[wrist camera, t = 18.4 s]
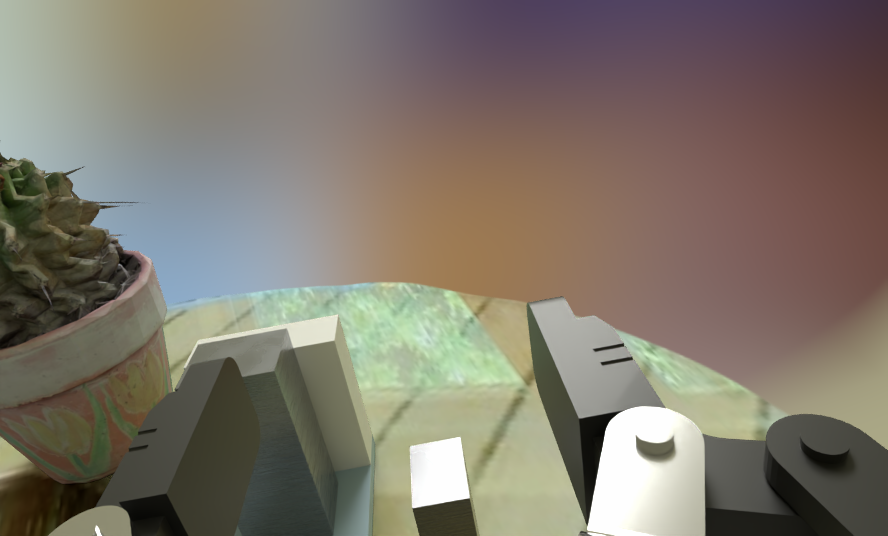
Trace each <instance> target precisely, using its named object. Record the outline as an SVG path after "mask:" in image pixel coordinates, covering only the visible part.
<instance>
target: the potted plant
mask: <svg viewBox="0 0 888 536" xmlns="http://www.w3.org/2000/svg"><path fill="white" fill-rule="evenodd" d="M82 168H83V167H82ZM79 169H81V168H79ZM79 169H76V170H79ZM76 170H73V171H70V172H67V173H63V172H54V173H46V174H45V171H41V170H39V169H38V168H36V167H35V166H34V164H33V162H32V161H30V160H28V159H26V158H23V159H20V160H19V161H18V160H15V159H13V158H10V159H9V160H7V159H5V158H4V157H2V155H1V153H0V436H1V437H2V438H3V439H4V440H6V441H7V442H8V443H9V444H11V445H12V446H13V447H14V448H16V449H17V450H18V451H19V452H20V453H22V454H23V455H24V456H25V457H27V458H28V459H29V460H30V461H31V462H33V463H34V464H35V465H36V466H37V467H38V468H40V469H41V470H42V471H43V472H44V473H46V474H47V475H48V476H49V477H50V478H52V479H54V480H56V481H58V482H60V483H62V484H71V483H87V482H91V481H95V480H98V479H101V478H104V477H106V476H108V475H111V474H113V473H115V471H116V469H117V468H118V466H119V464H120V462H121V461H122V459H123V457H124V455H125V453H127V452H129V449H128V448H129V446H130V445H131V443H132V441H133V439H134V437H135V436H137V435H138V430H139V429H140V427H141V425H142V423H143V421H144V420H145V418H146V416H147V414H148V413H149V411H150V410H151V409H152V408H154V407H155V406H156V405H157V404H158V403H159V402H160V401H161V400H162V399H163V398H164V397H165V396H166V395H167V394H168V393H171V392H173V388H172V382H171V375H170V369H169V362H168V355H167V349H166V343H165V337H164V331H163V324H164V320H165V316H166V312H167V306H166V303H165V300H164V297H163V294H162V291H161V288H160V285H159V282H158V278H157V276H156V272H155V269H154V266H153V263H152V260H151V259H149V258H148V257H146V256H145V255H143V254H142V253H140V252H139V251H127V250H123V248H122V247H121V246H120V244H119V243H118V238H111V237H109V236H118V235H109V231H108V230H107V229H102V228H97V227H94V226H91V225H90V224H91V223H92V221H93V220H94V218H95V217H96V215H97V214H98V212H99V209H105V208H111V207H117V206H103V205H99V203H123V202H93V201H87V200H82V199H79V198H78V197H77V195H76V194H74V192H73V191H72V187H73V183H72V182H71V181H70V179H69V178H67V177H66V175H68V174H70V173H72V172H74V171H76ZM50 174H51V175H50ZM47 175H49V176H48V177H46V178H44V177H45V176H47ZM71 194H72V195H73V197H72V196H71ZM124 203H126V202H124ZM130 203H131V202H130Z"/></svg>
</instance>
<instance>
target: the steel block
mask: <svg viewBox="0 0 888 536" xmlns="http://www.w3.org/2000/svg"><path fill="white" fill-rule="evenodd" d="M226 357H231V358H233V359H234V360H235V361H236V363H237V365H238V367H239V370H240V372H241V375H242V377H243V380H244V383H245V385H246V388H247V390H248V393H249V395H250V398H251V400H252V403H253V406H254V408H255V411H256V413H257V416H258V420H259V424H260V446H259V450H258V454H257V457H256V461H255V464H254V468H253V472H252V475H251V479H250V482H249V486H248V489H247V493H246V496H245V500H244V503H243V507H242V511H241V514H240V518H239V521H238V525H237V526H238V528H239V530H240V532H241V534H242V536H333V534H334V524H335V513H336V503H337V493H338V480H337V477H336V474H335V471H334V468H333V465H332V462H331V459H330V456H329V453H328V450H327V447H326V444H325V441H324V438H323V435H322V432H321V429H320V426H319V423H318V420H317V417H316V414H315V411H314V408H313V405H312V402H311V399H310V396H309V393H308V390H307V387H306V384H305V381H304V378H303V375H302V372H301V369H300V366H299V363H298V360H297V357H296V354H295V351H294V348H293V345H292V342H291V339H290V336H289V333H288V330H287V328H285V329H280V330H274V331H269V332H263V333H258V334H253V335H247V336H242V337H236V338H231V339H225V340H220V341H215V342H209V343H204V344H198V346H197V348H196V350H195V351H194V353H193V355H192V357H191V359H190V361H189V363H188V365H187V367H186V369H185V371H184V372H183V374H182V376H181V378H180V380H179V382H178V384H177V386H176V388H175V391H177V390H178V388H179V386H180V384H181V382H182V380H183V378H184V376H185V374H186V373H187V371H188V369H189V367H190V366H191V365H192V364H194V363H199V362H204V361H210V360H215V359H221V358H226Z"/></svg>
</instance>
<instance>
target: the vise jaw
mask: <svg viewBox="0 0 888 536" xmlns="http://www.w3.org/2000/svg"><path fill="white" fill-rule="evenodd" d="M410 464H411V487H412V509H413V512H414V516H415V520H416V524H417V528H418V532H419V535H420V536H479V531H478V526H477V520H476V515H475V510H474V505H473V500H472V495H471V490H470V485H469V479H468V474H467V469H466V464H465V459H464V454H463V449H462V443H461V438H460V437H458V438H453V439H447V440H442V441H436V442H431V443H425V444H420V445H414V446H410Z"/></svg>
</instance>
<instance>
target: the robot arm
mask: <svg viewBox="0 0 888 536" xmlns="http://www.w3.org/2000/svg"><path fill="white" fill-rule="evenodd" d="M527 317H528V326H529V334H530V343H531V352H532V360H533V368H534V374H535V379H536V383H537V387H538V391H539V394H540V397H541V400H542V403H543V406H544V408H545V411H546V414H547V417H548V419H549V422H550V425H551V428H552V430H553V433H554V436H555V439H556V441H557V444H558V447H559V450H560V452H561V455H562V458H563V461H564V464H565V466H566V469H567V472H568V475H569V477H570V480H571V483H572V486H573V488H574V491H575V494H576V497H577V499H578V502H579V505H580V508H581V510H582V513H583V516H584V519H585V521H586V524H587V526H588V528H587V532H583V531H581V532H580V533H579V536H888V450H887V449H885V448H884V447H883V446H881V445H880V444H879V443H877V442H876V441H875V440H873V439H872V438H871V437H870V436H868V435H867V434H866V433H864V432H863V431H861V430H860V429H858V428H856V427H854V426H852V425H850V424H848V423H845V422H843V421H841V420H837V419H834V418H831V417H826V416H822V415H813V414H799V415H792V416H787V417H784V418H782V419H779V420H778V421H776V422H775V423H773V424H772V425H771V427H770V428H769V430H768V432H767V435H766V441H756V440H740V439H726V438H717V437H713V436H708V435H705V434H702V433H701V431H700V430H699V428H698V427H697V426H696V425H695V424H694V423H693V422H692V421H691V420H689V419H688V418H687V417H685V416H683V415H681V414H680V413H677V412H675V411H672V410H669V409H666V408H665V406H664V405H663V403H662V401H661V400H660V398H659V397H658V395H657V394H656V392H655V391H654V389H653V388H652V386H651V385H650V383H649V381H648V380H647V378H646V377H645V375H644V374H643V372H642V371H641V369H640V368H639V366H638V364H637V363H636V361H635V360H633V358H632V355H631V354H630V352H629V351H628V349H627V348H626V346H625V347H624V343H623V341H622V340H621V338H620V337H619V335H618V334H617V332H616V331H615V329H614V327H612V326H611V325H609V324H607V323H606V322H604V321H602V320H601V319H599V318H597V317H596V316H588V317H583V318H577V319H576V318H575V316H574V314H573V312H572V310H571V309H570V307H569V305H568V303H567V301H566V300H565V298H564V297H562V296H561V297H556V298H550V299H545V300H540V301H535V302H529V303H527ZM259 446H260V424H259V420H258V416H257V413H256V411H255V408H254V406H253V403H252V400H251V398H250V395H249V393H248V390H247V388H246V385H245V383H244V380H243V377H242V375H241V372H240V370H239V367H238V365H237V363H236V361H235V360H234V359H233V358H231V357H226V358H221V359H215V360H210V361H204V362H199V363H194V364H192V365H191V366H190V367H189V369H188V371H187V373H186V374H185V376H184V378H183V380H182V382H181V384H180V386H179V388H178V390H177V391H176V392H171V393H168V394H167V395H166V396H165V397H164V398H163V399H162V400H161V401H160V402H159V403H158V404H157V405H156V406H155V407H154V408H152V409H151V410H150V411H149V413H148V414H147V416H146V418H145V420H144V421H143V423H142V425H141V427H140V429H139V430H138V435H137V436H135V437H134V439H133V441H132V443H131V445H130V446H129V448H128V449H129V452H127V453H125V455H124V457H123V459H122V461H121V462H120V464H119V466H118V468H117V469H116V471H115V473H114V475H113V477H112V478H111V480H110V482H109V484H108V485H107V487H106V489H105V491H104V493H103V494H102V496H101V498H100V500H99V501H98V503H97V505H96V507H95V508H93V509H90V510H87V511H85V512H82V513H80V514H78V515H76V516H74V517H72V518H71V519H69V520H67V521H66V522H64V523H63V524H62V525H60V526H59V527H58V528H56V529H55V530H54V531H53V532H52V533H50V534H49V535H48V536H234V535H235V532H236V528H237V525H238V521H239V518H240V514H241V511H242V507H243V503H244V500H245V496H246V493H247V489H248V486H249V482H250V479H251V475H252V472H253V468H254V464H255V461H256V457H257V454H258V450H259Z"/></svg>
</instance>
